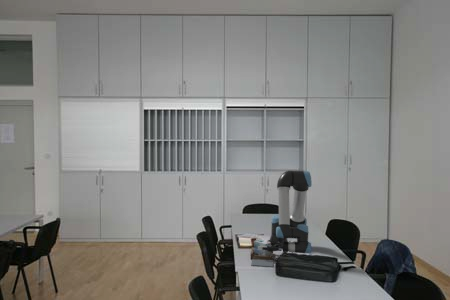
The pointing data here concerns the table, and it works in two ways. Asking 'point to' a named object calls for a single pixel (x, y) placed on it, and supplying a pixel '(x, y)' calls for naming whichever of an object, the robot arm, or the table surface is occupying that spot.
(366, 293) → the table surface
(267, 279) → the table surface
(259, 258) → the brown wooden square frame
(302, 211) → the robot arm
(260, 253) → the light bulb box
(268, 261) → the slate mat
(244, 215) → the table surface
